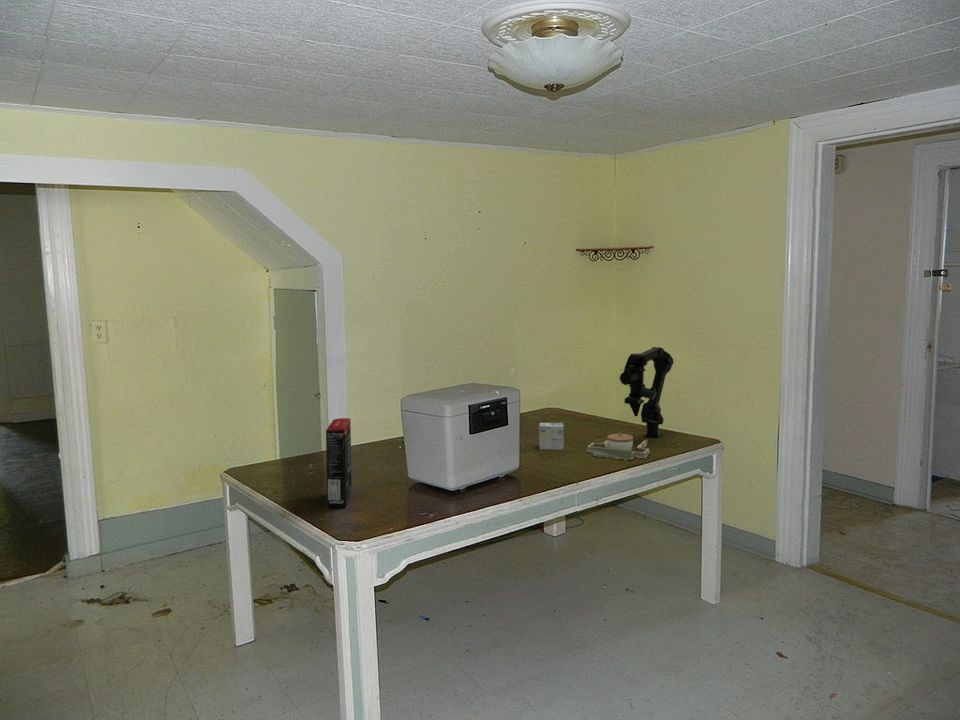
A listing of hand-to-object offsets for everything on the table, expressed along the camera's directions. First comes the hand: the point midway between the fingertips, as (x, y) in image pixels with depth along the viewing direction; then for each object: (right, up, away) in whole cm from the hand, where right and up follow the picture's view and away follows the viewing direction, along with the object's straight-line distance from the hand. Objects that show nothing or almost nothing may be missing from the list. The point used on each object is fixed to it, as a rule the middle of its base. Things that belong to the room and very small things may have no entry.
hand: (636, 416), depth 319 cm
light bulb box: (-39, -14, -7) cm, 42 cm away
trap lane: (-9, -14, -13) cm, 21 cm away
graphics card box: (-118, -23, -73) cm, 141 cm away
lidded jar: (-11, -15, -18) cm, 26 cm away
